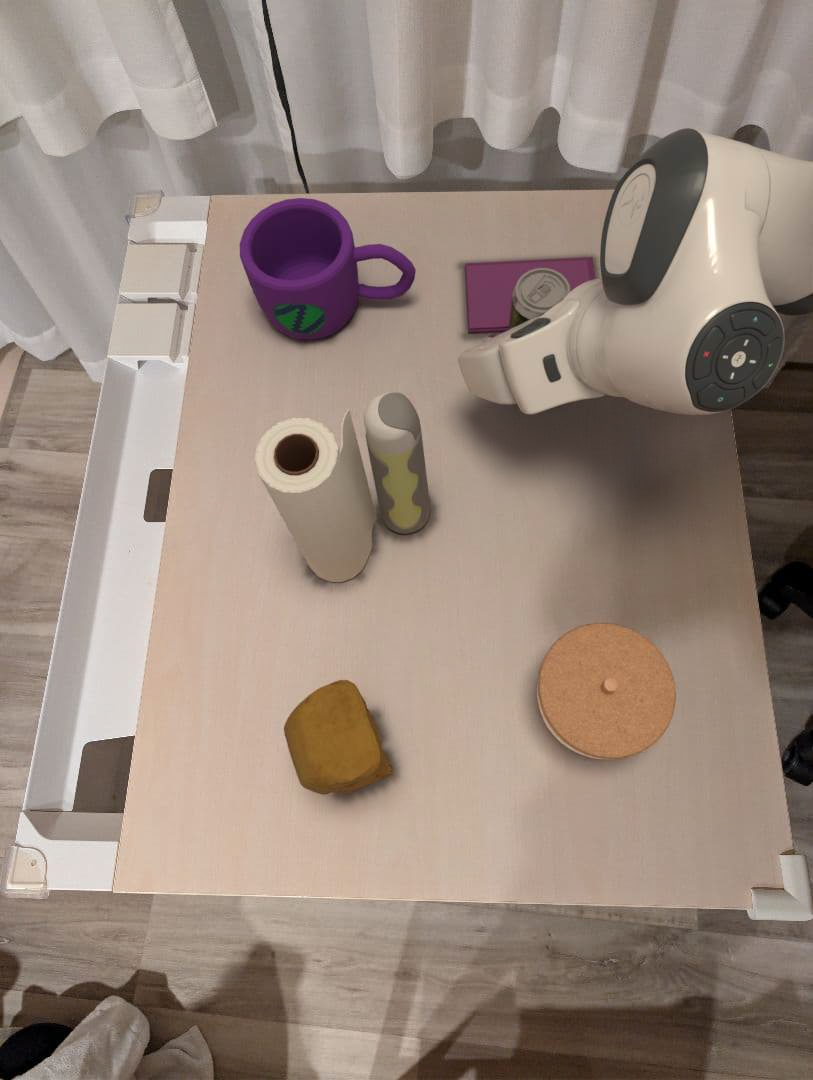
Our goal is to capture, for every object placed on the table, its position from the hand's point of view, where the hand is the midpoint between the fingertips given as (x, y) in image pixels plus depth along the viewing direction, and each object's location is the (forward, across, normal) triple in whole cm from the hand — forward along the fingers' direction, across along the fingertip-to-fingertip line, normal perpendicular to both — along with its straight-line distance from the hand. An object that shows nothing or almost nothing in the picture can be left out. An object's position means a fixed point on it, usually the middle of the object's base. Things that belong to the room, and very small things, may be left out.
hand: (532, 323), depth 75 cm
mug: (+16, +14, -7) cm, 23 cm away
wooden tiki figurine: (-15, +34, +24) cm, 44 cm away
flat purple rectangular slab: (+9, -5, 0) cm, 10 cm away
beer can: (+4, 0, +5) cm, 7 cm away
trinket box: (-19, +13, +28) cm, 36 cm away
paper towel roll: (-2, +26, +12) cm, 29 cm away
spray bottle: (-2, +19, +11) cm, 22 cm away
